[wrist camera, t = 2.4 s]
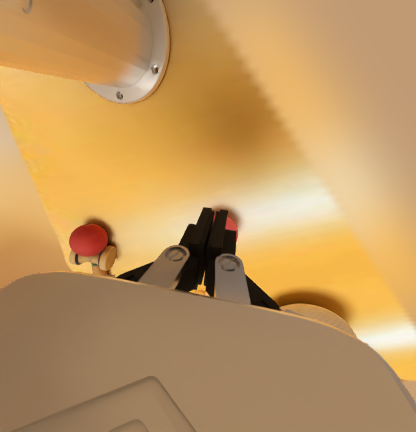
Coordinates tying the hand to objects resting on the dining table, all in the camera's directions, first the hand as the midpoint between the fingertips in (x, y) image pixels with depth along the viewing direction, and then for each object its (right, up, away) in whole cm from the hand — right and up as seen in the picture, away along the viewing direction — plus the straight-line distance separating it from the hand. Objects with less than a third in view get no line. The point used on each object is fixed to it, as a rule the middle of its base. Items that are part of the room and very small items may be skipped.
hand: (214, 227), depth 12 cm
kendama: (-23, -7, +27) cm, 36 cm away
